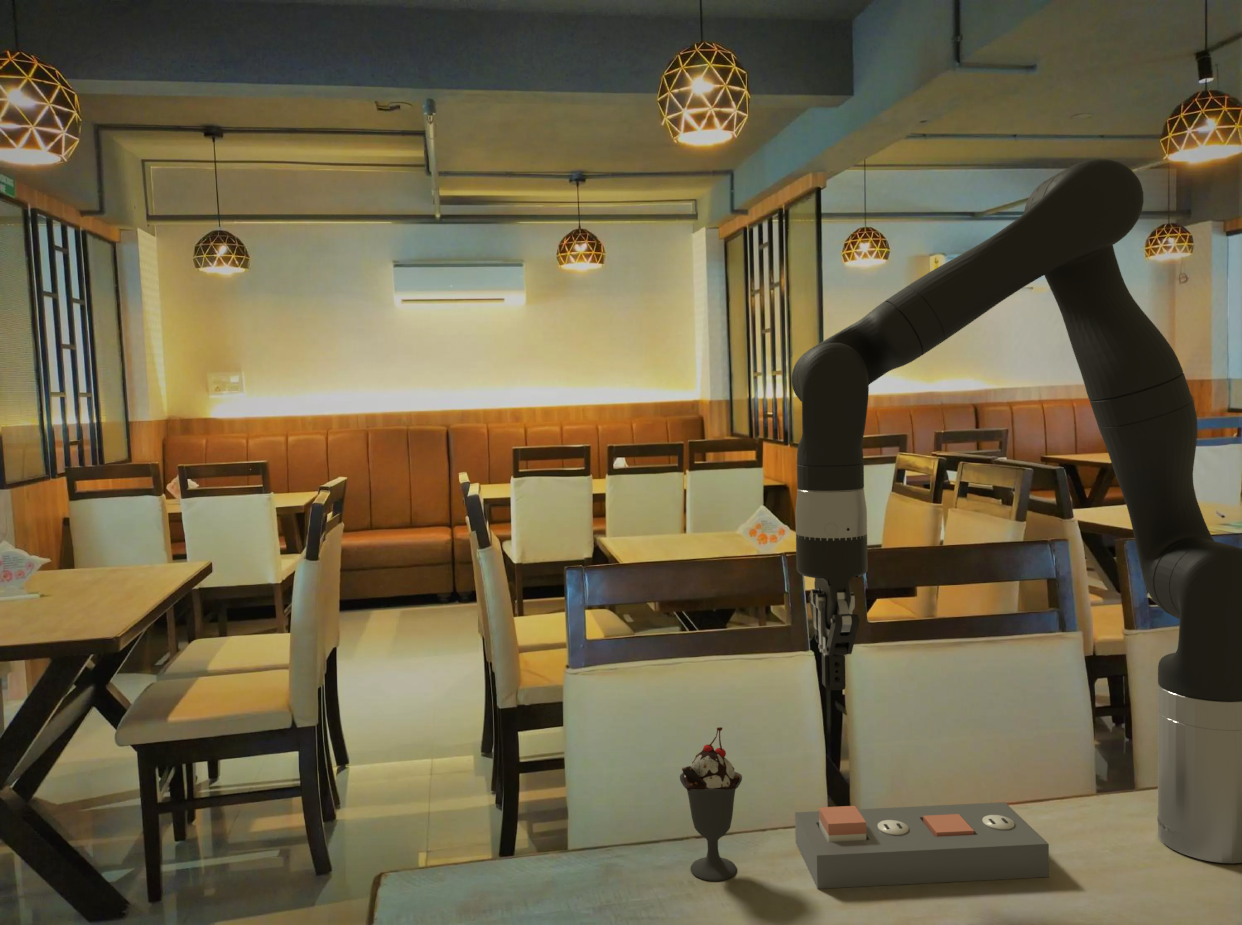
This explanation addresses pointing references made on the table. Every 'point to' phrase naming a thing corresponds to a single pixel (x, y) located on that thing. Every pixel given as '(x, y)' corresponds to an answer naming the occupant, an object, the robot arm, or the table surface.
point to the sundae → (711, 807)
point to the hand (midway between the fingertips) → (833, 687)
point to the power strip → (924, 848)
